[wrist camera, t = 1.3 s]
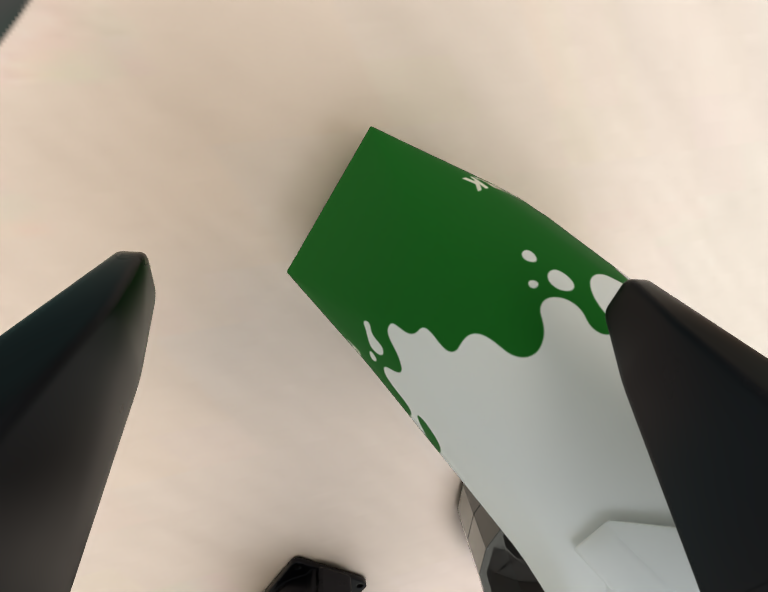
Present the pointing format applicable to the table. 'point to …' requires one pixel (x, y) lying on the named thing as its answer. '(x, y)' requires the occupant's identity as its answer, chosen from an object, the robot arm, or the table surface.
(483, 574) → the bowl
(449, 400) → the milk carton
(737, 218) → the table surface
